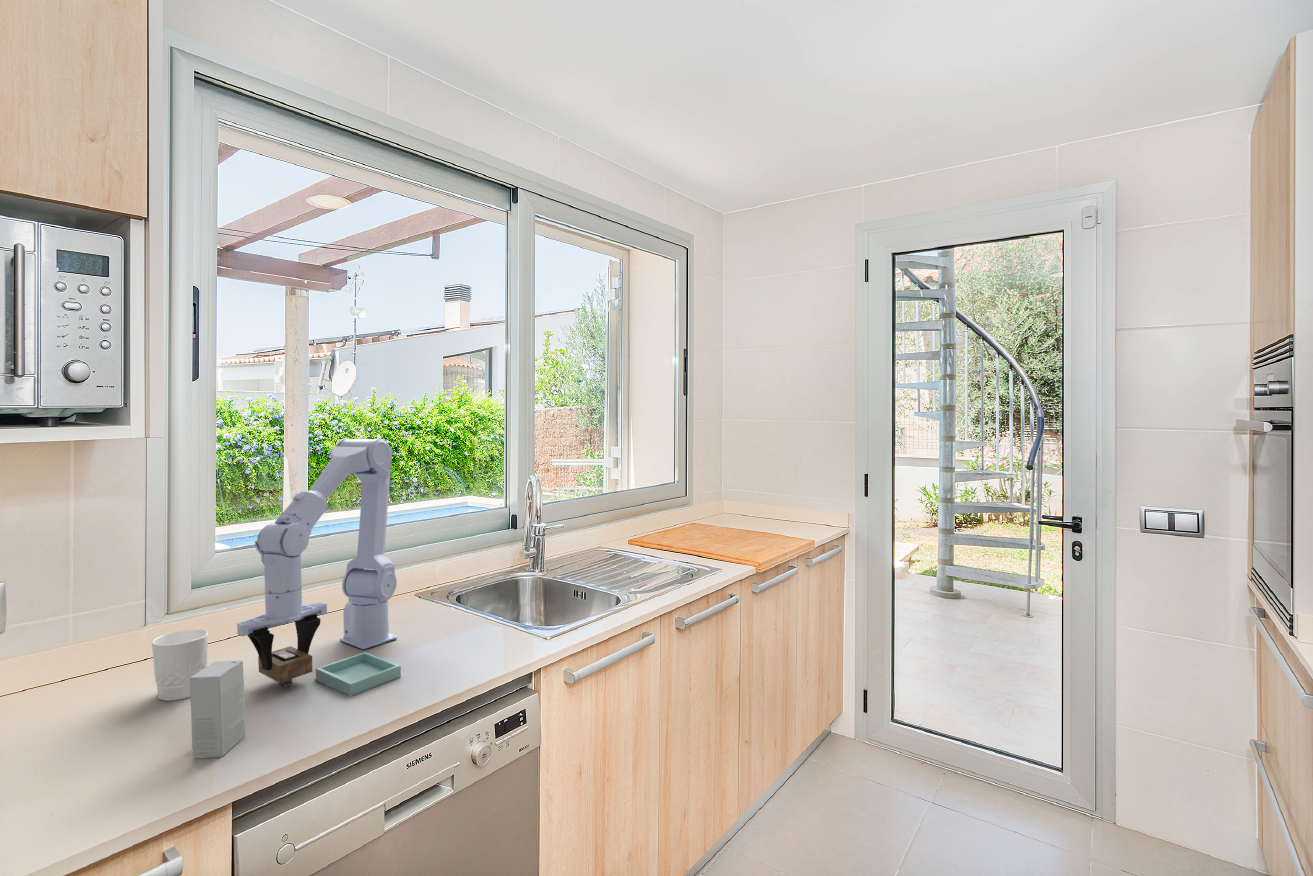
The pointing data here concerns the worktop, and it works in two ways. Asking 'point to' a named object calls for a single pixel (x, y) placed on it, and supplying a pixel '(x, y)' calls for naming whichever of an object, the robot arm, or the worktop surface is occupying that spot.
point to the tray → (358, 673)
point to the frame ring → (288, 665)
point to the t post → (284, 657)
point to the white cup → (178, 661)
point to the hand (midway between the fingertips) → (285, 662)
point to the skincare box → (217, 708)
